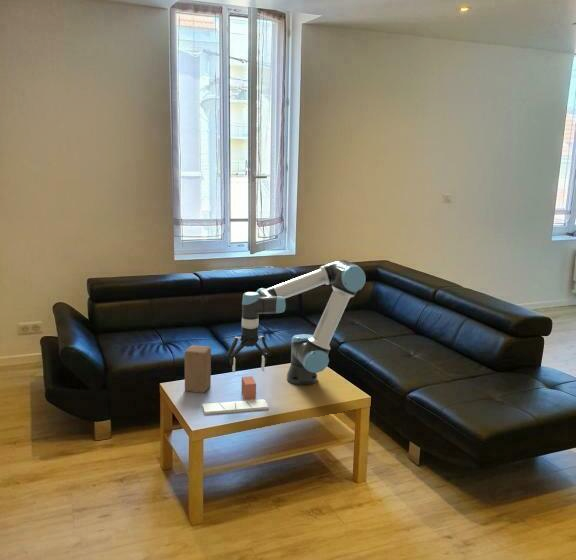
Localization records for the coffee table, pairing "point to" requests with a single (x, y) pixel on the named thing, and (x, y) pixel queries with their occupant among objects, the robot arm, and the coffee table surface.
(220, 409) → the board
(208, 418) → the coffee table surface
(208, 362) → the wooden block
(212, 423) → the coffee table surface
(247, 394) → the block
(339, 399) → the coffee table surface
